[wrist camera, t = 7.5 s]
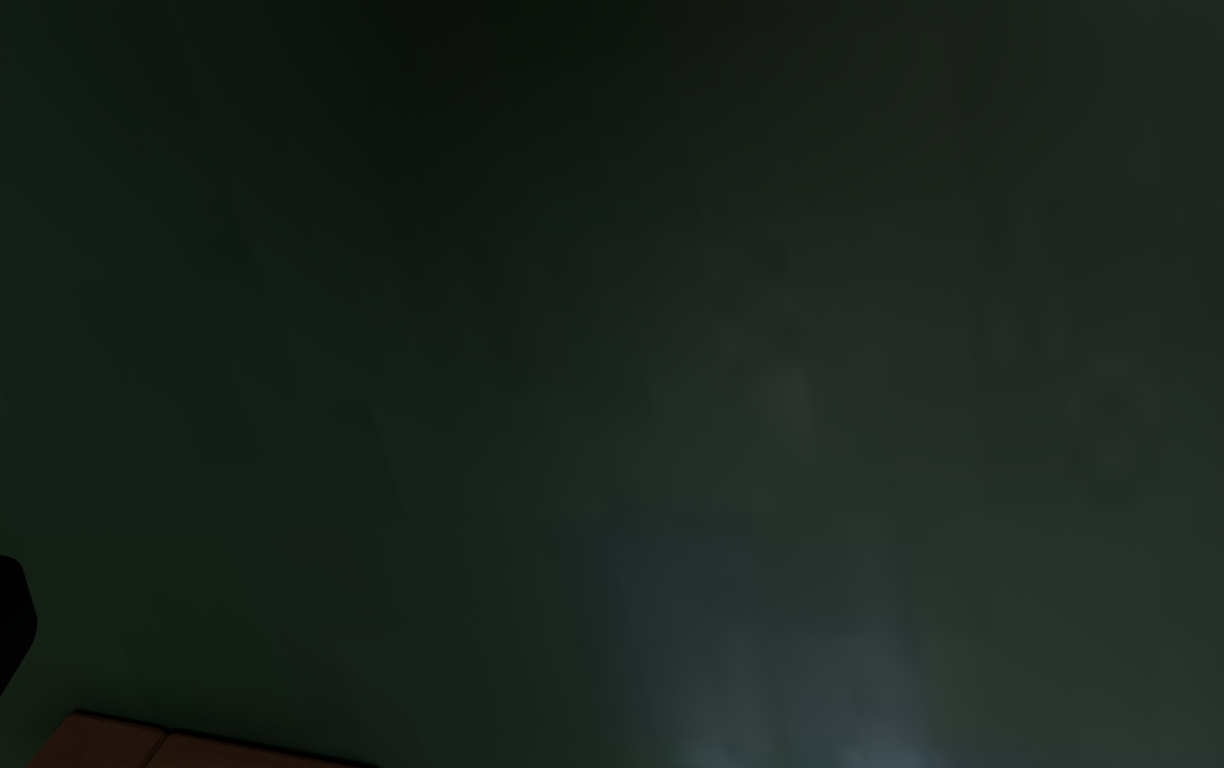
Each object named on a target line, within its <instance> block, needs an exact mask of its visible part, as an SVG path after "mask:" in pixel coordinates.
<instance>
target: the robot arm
mask: <svg viewBox="0 0 1224 768" xmlns="http://www.w3.org/2000/svg"><path fill="white" fill-rule="evenodd" d="M36 631H37V615H36V612H35V609H34V605H33V602H32V598H31V595H30V592H29V588H28V585H27V582H26V578H25V575H24V571H23V569H22V567H21V565H20V563H19V562H18V561H16V560H15V559H14V558H11V557H8V556H3V555H0V696H1V695H2V693H3V691H4V690H5V688H6V687H7V685H8V683H9V682H10V680H11V678H12V677H13V675H14V673H15V672H16V670H17V669H18V667H19V665H20V664H21V662H22V660H23V659H24V657H25V655H26V654H27V652H28V650H29V649H30V647H31V645H32V643H33V640H34V638H35V635H36Z"/></svg>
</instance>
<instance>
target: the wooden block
mask: <svg viewBox="0 0 1224 768" xmlns="http://www.w3.org/2000/svg"><path fill="white" fill-rule="evenodd" d="M25 768H360V767H355V766H350V765H344V764H339V763H334V762H328V761H323V760H318V759H312V758H307V757H302V756H297V755H291V754H286V753H281V752H275V751H270V750H265V749H260V748H254V747H249V746H244V745H238V744H233V743H228V742H223V741H217V740H212V739H207V738H201V737H196V736H191V735H186V734H180V733H173V734H170V735H169V736H168V734H167V733H166V732H165V731H163V730H161V729H160V728H156V727H151V726H145V725H140V724H135V723H129V722H124V721H119V720H113V719H108V718H103V717H98V716H92V715H87V714H82V713H74V714H71V715H70V716H68V717H67V718H66V719H65V720H64V721H63V722H62V723H61V725H60V726H59V727H58V728H57V729H56V731H55V732H54V733H53V734H52V736H51V737H50V738H49V739H48V740H47V742H46V743H45V744H44V745H43V746H42V748H41V749H40V750H39V751H38V753H37V754H36V755H35V756H34V757H33V759H32V760H31V761H30V762H29V763H28V765H27V766H26V767H25Z"/></svg>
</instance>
